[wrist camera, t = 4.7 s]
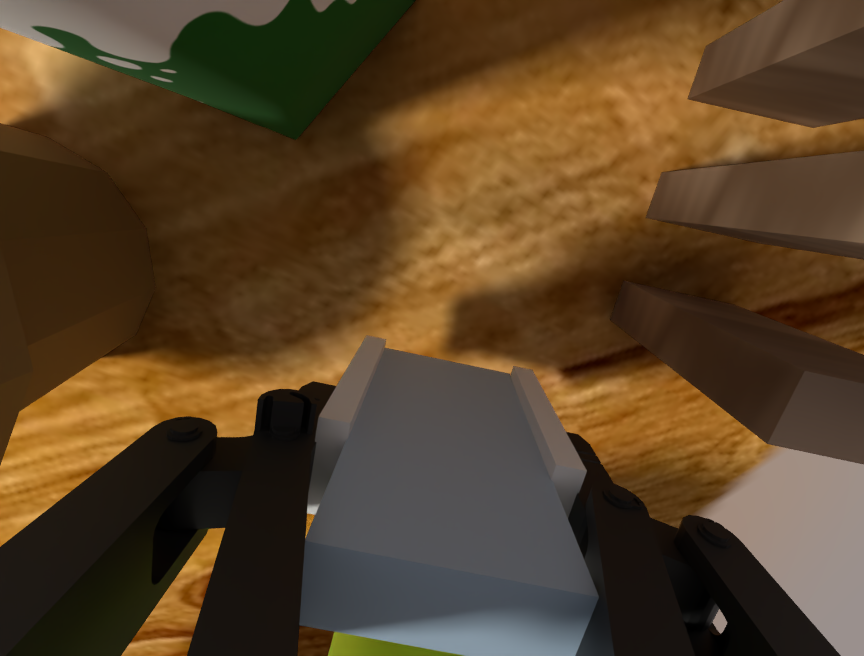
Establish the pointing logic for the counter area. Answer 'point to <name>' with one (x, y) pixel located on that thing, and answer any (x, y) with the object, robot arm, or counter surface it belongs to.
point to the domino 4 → (754, 368)
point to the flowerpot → (62, 269)
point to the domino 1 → (445, 522)
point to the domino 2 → (790, 64)
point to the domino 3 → (772, 202)
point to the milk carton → (220, 47)
